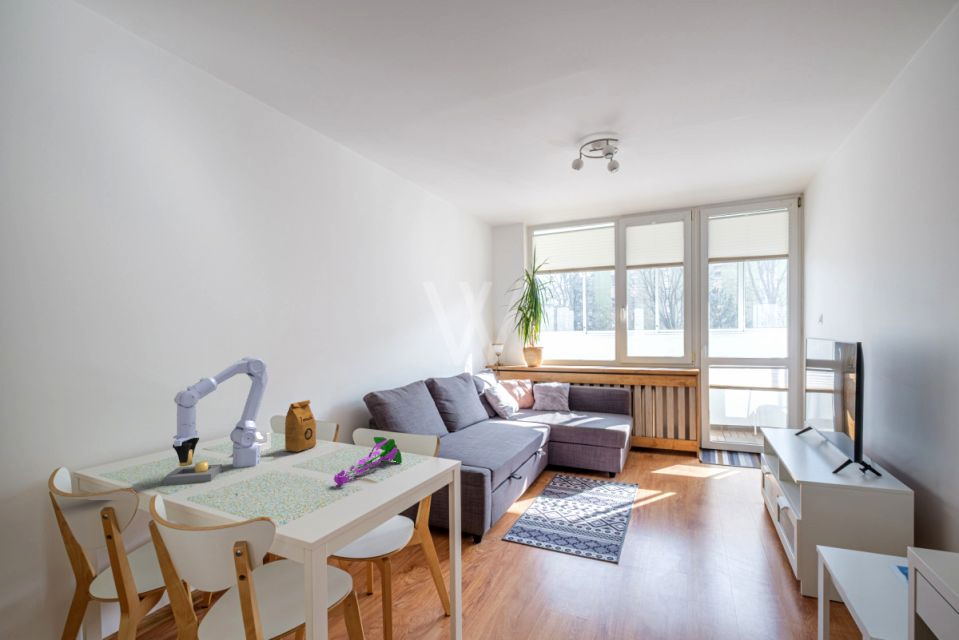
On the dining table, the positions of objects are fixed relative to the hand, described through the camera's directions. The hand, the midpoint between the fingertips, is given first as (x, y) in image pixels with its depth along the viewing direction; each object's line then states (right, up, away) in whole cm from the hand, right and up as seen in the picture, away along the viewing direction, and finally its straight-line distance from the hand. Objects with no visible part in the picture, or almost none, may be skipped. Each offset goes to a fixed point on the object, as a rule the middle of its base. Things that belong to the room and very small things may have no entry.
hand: (186, 460), depth 158 cm
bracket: (+5, -9, +37) cm, 39 cm away
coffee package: (+25, -8, +41) cm, 48 cm away
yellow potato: (+5, -6, +1) cm, 8 cm away
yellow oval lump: (0, -1, 0) cm, 1 cm away
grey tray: (+2, -8, +1) cm, 8 cm away
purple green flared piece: (+65, -8, +10) cm, 66 cm away
